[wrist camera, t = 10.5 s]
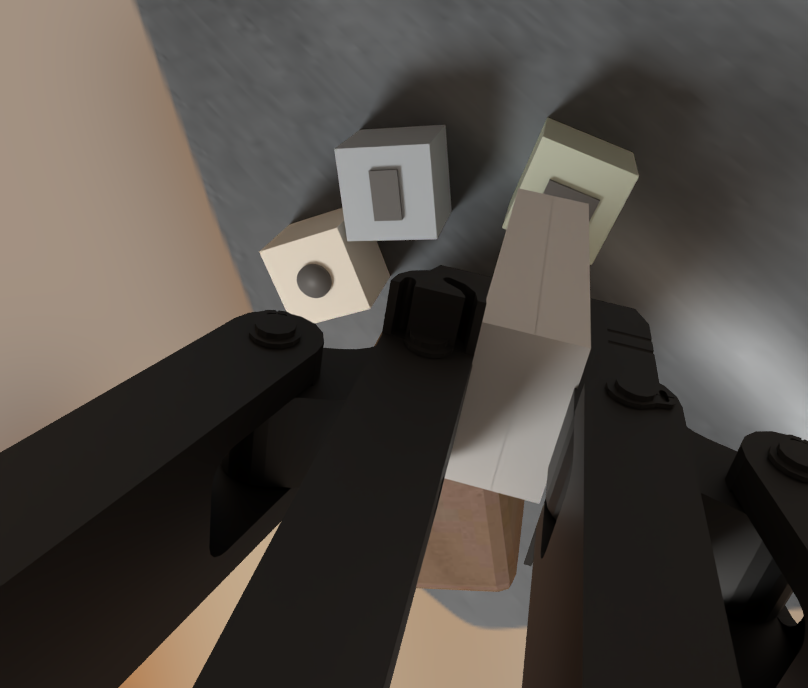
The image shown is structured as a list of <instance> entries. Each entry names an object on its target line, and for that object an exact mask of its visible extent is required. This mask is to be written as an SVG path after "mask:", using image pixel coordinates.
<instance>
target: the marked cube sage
mask: <svg viewBox="0 0 808 688" xmlns="http://www.w3.org/2000/svg"><path fill="white" fill-rule="evenodd" d="M638 177H639V174H638V170H637V166H636V162H635V158H634V154H633V152H630V151H628V150H625V149H623V148H621V147H618V146H616V145H613V144H611V143H608V142H606V141H604V140H601V139H599V138H596V137H594V136H591V135H589V134H587V133H584V132H582V131H579V130H577V129H574V128H572V127H570V126H567V125H565V124H562V123H560V122H557V121H555V120H553V119H550V118H548V117H547V119H546V121H545V124H544V126H543V128H542V131H541V133H540V135H539V137H538V140H537V142H536V144H535V146H534V149H533V151H532V153H531V155H530V158H529V160H528V162H527V164H526V167H525V169H524V171H523V173H522V176H521V178H520V180H519V182H518V185H517V187H516V189H515V192H514V194H513V196H512V198H511V201H510V204H509V207H508V210H507V213H506V217H505V220H504V223H503V226H502V228H504V229H506V230H507V226H508V223H509V219H510V216H511V212H512V209H513V205H514V202H515V198H516V195H517V192H518V188H520V189H524V190H529V191H533V192H538V193H542V194H547V195H551V196H556V197H560V198H565V199H569V200H574V201H578V202H583V203H587V204H589V255H590V265H592V264H593V262H594V260H595V258H596V256H597V254H598V253H599V251H600V249H601V247H602V245H603V243H604V241H605V239H606V238H607V236H608V234H609V232H610V230H611V228H612V226H613V224H614V222H615V221H616V219H617V217H618V215H619V213H620V211H621V209H622V207H623V206H624V204H625V202H626V200H627V198H628V196H629V194H630V192H631V190H632V189H633V187H634V185H635V183H636V181H637V179H638Z"/></svg>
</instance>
